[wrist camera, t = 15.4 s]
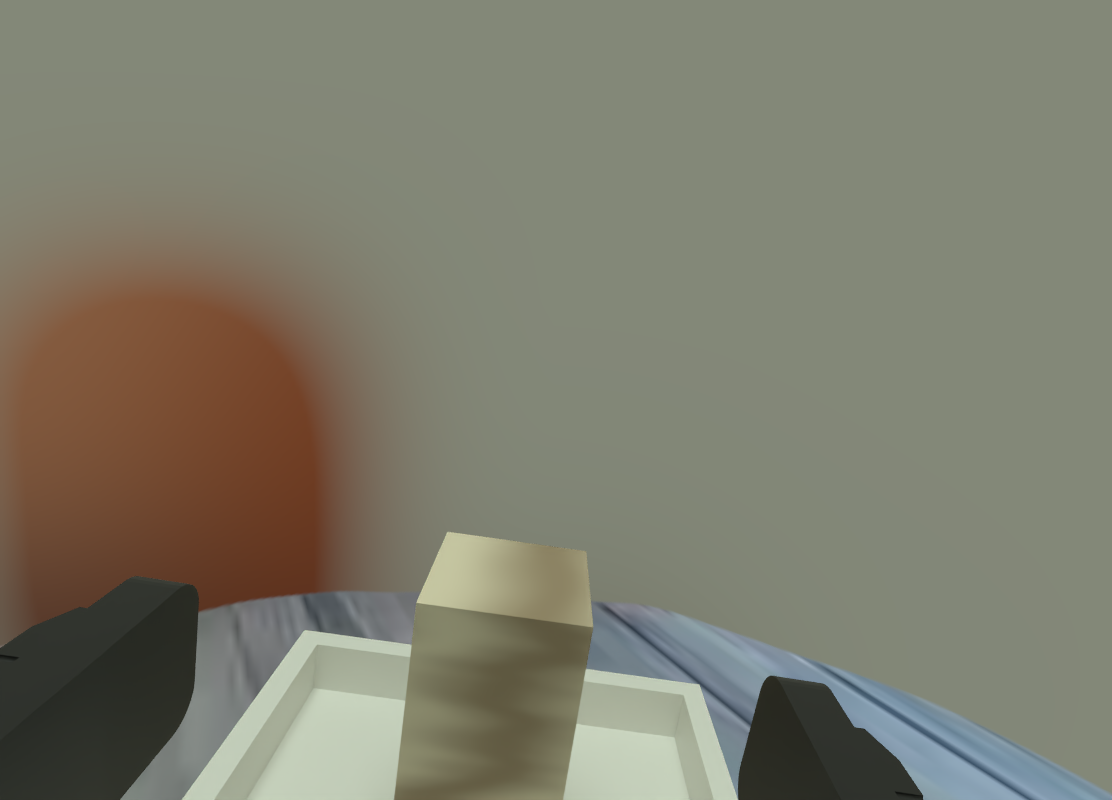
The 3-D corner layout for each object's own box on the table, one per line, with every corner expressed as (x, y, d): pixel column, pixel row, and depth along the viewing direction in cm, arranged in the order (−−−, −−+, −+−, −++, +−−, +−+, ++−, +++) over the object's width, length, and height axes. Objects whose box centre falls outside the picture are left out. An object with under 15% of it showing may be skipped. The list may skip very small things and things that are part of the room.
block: (377, 948, 20) (416, 602, 18) (413, 815, 25) (447, 531, 23) (533, 968, 20) (592, 627, 18) (539, 832, 25) (586, 551, 23)
